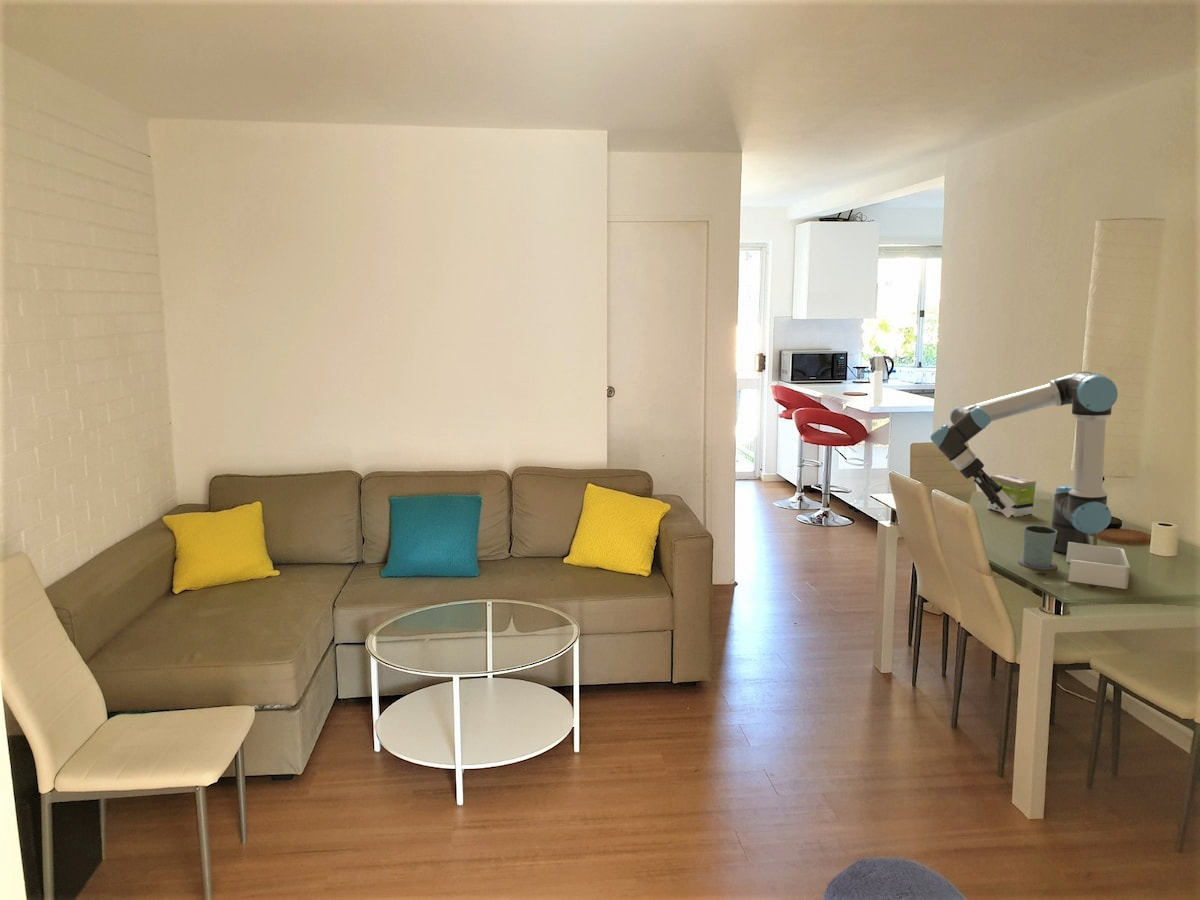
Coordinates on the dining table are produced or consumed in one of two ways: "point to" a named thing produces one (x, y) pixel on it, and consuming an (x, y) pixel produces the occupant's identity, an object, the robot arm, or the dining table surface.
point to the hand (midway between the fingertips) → (1011, 511)
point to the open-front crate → (1098, 565)
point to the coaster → (1051, 567)
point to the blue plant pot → (1039, 545)
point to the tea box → (1016, 493)
